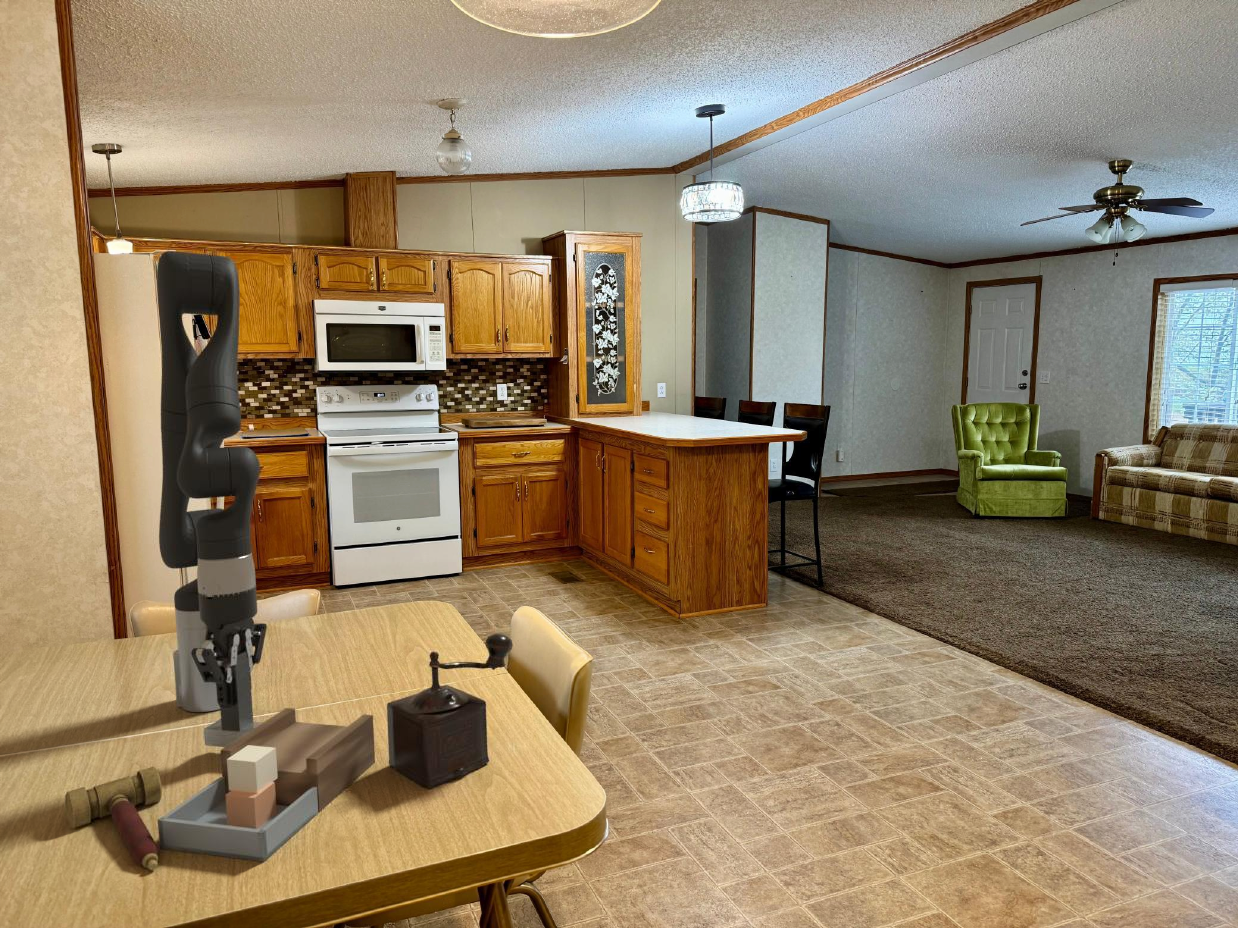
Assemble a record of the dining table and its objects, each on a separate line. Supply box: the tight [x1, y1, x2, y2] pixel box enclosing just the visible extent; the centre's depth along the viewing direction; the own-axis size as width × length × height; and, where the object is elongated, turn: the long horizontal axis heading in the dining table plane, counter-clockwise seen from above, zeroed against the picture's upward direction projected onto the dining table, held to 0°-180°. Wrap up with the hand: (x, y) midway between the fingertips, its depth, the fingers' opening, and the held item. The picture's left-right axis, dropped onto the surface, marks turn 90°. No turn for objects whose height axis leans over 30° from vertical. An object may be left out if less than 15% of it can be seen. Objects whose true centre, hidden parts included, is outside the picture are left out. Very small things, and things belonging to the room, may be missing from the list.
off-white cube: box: [227, 745, 278, 793], centre depth 104 cm, size 4×4×4 cm
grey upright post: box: [203, 651, 263, 748], centre depth 121 cm, size 9×4×14 cm, turn 77°
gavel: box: [64, 766, 163, 871], centre depth 101 cm, size 21×5×10 cm
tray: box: [157, 776, 319, 863], centre depth 102 cm, size 14×11×4 cm
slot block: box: [219, 707, 376, 813], centre depth 114 cm, size 14×14×7 cm
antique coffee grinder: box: [386, 633, 514, 790], centre depth 119 cm, size 16×11×18 cm
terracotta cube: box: [226, 782, 277, 829], centre depth 103 cm, size 4×4×4 cm
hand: (235, 701), depth 121 cm, fingers closed on grey upright post, 3 cm apart
